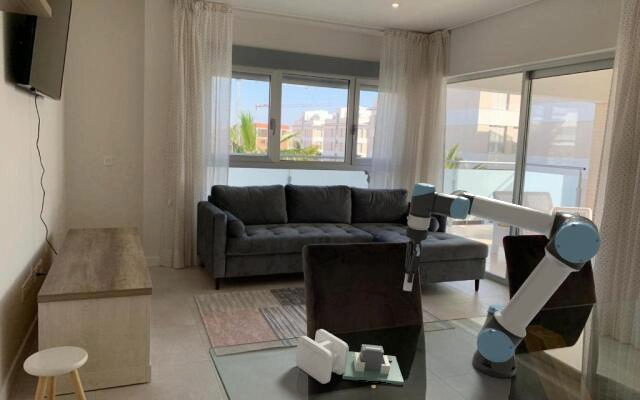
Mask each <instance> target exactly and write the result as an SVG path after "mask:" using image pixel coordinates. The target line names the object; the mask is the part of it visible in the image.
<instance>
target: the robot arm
mask: <svg viewBox="0 0 640 400" xmlns="http://www.w3.org/2000/svg"><path fill="white" fill-rule="evenodd" d="M436 190H437V189H436V186H435V185H433V184H431V183H424V182H417V183H415V184H414V185H413V189H412V193H411V199H410V203H409V204H410V205H409V206H410V207H409V211H408V212H409V213H408V216H406V219H407V226H406V229H405V237H406V238H408V239H409V240H407V241H406V253H405V263H404V268H405V274H404V281H403V288H402V289H403V291H406V292H412V291H413V290H412V289H413V283H414V282H413V281H414V278H415V275H417V273H418V269H419V265H420V261H421V257H422V255H423V251H422V247H423V246H422V243H421V242H422V241H426V240H427V239H428V234H429V229H430V224H431V219H432V217H431V216H432V214H433V215H439V216H443V217H448V218H450V219H454V220H461V221H462V220H463V221H464V220H465V219H466V218H467V217H468V215H469V216H473V217H476V218H479V219H484V220H488V221H492V222H495V223H499V224H503V225H507V226H510V227H514V228H517V229H522V230H526V231H530V232H533V233H537V234H541V235H544V236H545V237H546V238H547V240H550V241H549V242H547V244H546V245H545V247H544V252H545V255H544V257H543V258H542V259H541V260H540V262H539V263H538V264H537V266H536V267H534V269H533V270H532V272H531V273H530V275H528V277H527V278H526V279H525V281H524V282H523V283H522V285H521V286H520V287H519V289H518V290H517V291H516V293H515V294H514V295H513V297H511V299H510V300H509V302H508V303H507V304H506V305H502V304H491V305H489V306H488V310H486V311H487V314H486V317H485V318H486V319H485V321H484V323H483V325H482V327H481V329H480V331H479V333H478V334H477V337H476V346H477V348H476V350H475V352H474V353H473V356H472V359H471V361H472V362H471V363H472V365H473V366H474V367H475V368H476V369H477V370H478V371H480V372H482V374H483V373H484V374H486V375H487V376H490V377H494V378H497V377H499V378H498V379H509V378H508V377H511V378H513V377H514V376H515V375H516V372H517V361H516V355H515V352H516V348H517V347H518V346H519V344H520V343H521V342H522V341H523V339H524V338H525V337H526V335H527V331H526V328H527V327H528V325H529V324H530V323H531V321H532V320H533V319H534V318H535V317H536V315H537V314H538V313H539V312H540V311H541V309H542V308H543V307H544V306H545V305H546V303H547V302H548V301H549V300H550V298H551V297H552V296H553V295H554V293H555V292H556V291H557V290H558V289H559V287H560V286H561V285H562V284H563V282H564V281H565V280H566V279H567V278H568V276H570V274H571V273H572V272H579V271H580V270H581V269H582V268H583V267H584V265H585V264H586V263H587V262H588V261H590V260H592V259H593V258H594V257H595V256H596V255H597V254H598V252H599V251H600V248H601V242H602V241H601V240H602V239H601V236H600V234H599V230H598V227H597V225H596V224H595V222H594V221H593V220H591V219H590V218H588V217H586V216H584V215H578V214H573V213H566V212H561V211H558V210H553V212H548V211H545V210H544V211H543V210H540V209H536V208H531V207H527V206H524V205H519V204H515V203H512V202H511V203H510V202H507V201H503V200H499V199H494V198H490V197H487V196H482V195H477V194H473V193H470V192H468V191H467V190H463V189H459V190H455V191H453V192H452V193H442V192H438V191H436ZM428 228H429V229H428ZM514 374H515V375H514ZM513 375H514V376H513ZM512 376H513V377H512Z"/></svg>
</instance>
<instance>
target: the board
mask: <svg viewBox="0 0 640 400" xmlns="http://www.w3.org/2000/svg"><path fill="white" fill-rule="evenodd" d="M364 367H365V362H361V361H360V351H359V352H357V351H349V352H348V358H347V365H346V371H345V373H343V374H341V377H342V378H341V379H342V380H350V381H351V380H352V381H358V380H367V381H366V382H368V381H381V382H386V383H385V384H387V383H391V384H390V385H399V386H404V383H405V380H404V378H403V376H402V373H401V370H400V366H399V363H398V361H397V357H396V356H395V355H388V354H387V355H386V354H385V355H384V354H383V360H382V364H381V370H380V371H373V370H364Z"/></svg>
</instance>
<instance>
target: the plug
mask: <svg viewBox="0 0 640 400" xmlns="http://www.w3.org/2000/svg"><path fill="white" fill-rule="evenodd" d="M359 353H360V361H361V362H365V367H364V370H373V371H380V370H381V364H382V360H383V355H384V354H385V351H384V348H383V345H374V344H363V343H362V344H361V347H360V351H359Z"/></svg>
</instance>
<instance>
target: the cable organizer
mask: <svg viewBox="0 0 640 400" xmlns="http://www.w3.org/2000/svg"><path fill="white" fill-rule="evenodd" d="M349 347H350V346H349V345H348V343H347V342H345V341H344V340H342V339H341V338H339V337H337V336H335V335H334V334H332V333H330V332H329V331H327V330H325V329H323V328H320V329H317V330H316V331H315V338H314V340H313V339H312V338H310V337H308V336H307V335H302V336H299V337H298V339H297V345H296V353H295V364H296V366H297V368H299V369H301V370H302V371H303V372H305V373H306V374H308V375H309V376H310V377H312V378H313V379H315V380H316V381H318V382H319V383H320V384H323V385H324V384H328V383H330V381H331V377H332V373H334V374H335V373H336V374H337V375H340V376H342V374H343V373H345V371H346V365H347V358H348V352H349V349H350V348H349Z"/></svg>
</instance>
